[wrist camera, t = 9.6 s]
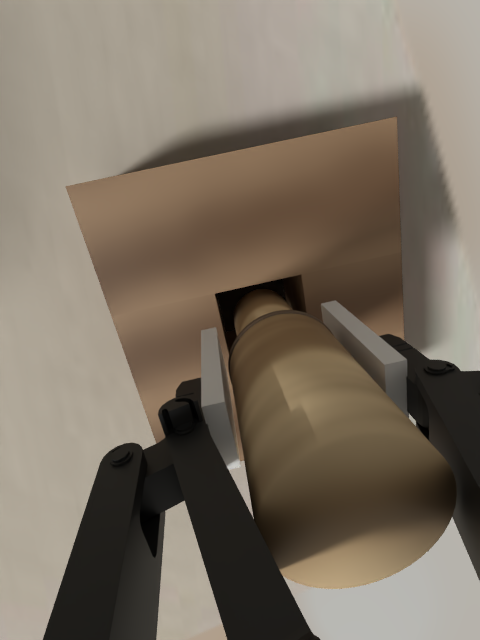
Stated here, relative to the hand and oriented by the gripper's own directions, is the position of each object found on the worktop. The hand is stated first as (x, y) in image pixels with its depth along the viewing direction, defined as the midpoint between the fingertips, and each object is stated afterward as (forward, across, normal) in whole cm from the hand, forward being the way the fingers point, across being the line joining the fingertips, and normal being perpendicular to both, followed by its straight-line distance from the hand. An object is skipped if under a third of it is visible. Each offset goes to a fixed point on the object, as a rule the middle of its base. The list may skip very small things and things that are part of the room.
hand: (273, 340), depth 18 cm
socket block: (+8, 0, 0) cm, 8 cm away
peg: (+4, 0, 0) cm, 4 cm away
